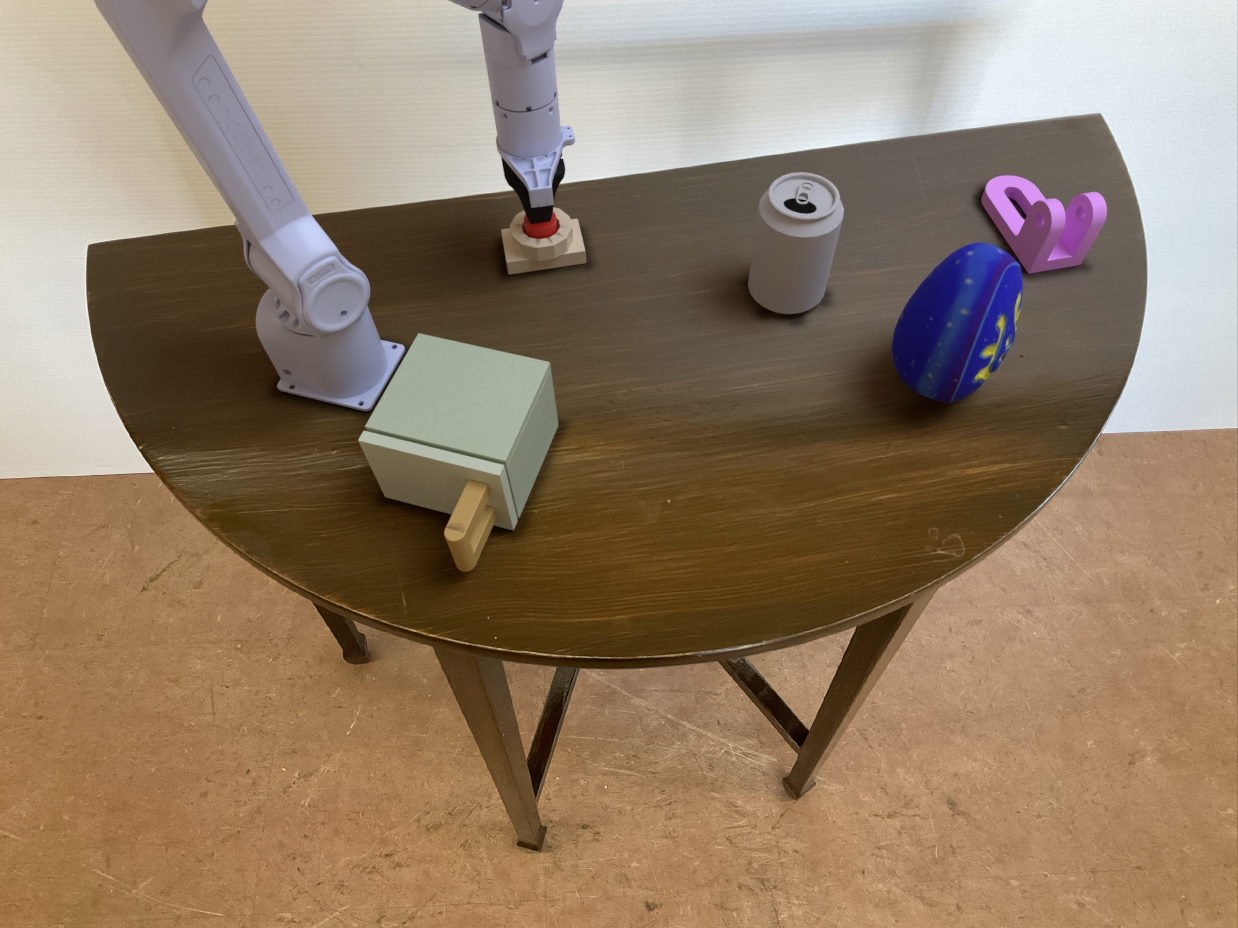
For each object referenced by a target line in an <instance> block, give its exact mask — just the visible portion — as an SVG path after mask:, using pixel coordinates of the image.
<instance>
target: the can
mask: <svg viewBox="0 0 1238 928" xmlns="http://www.w3.org/2000/svg"><path fill="white" fill-rule="evenodd" d="M844 208H845V207H844V205H843V202H842V200H841V194H840V192H839V188H838V187H836V185H835V184H834V183H833V182H832V181H830V180H828V179H827V178H826V177H824V176H822V175H819V174H816V173H812V172H805V171H804V172H803V171H800V172H799V171H798V172H791V173H787V174H784V175H781V176H779V177H777V178H776V179H775V180H773V181H772V182H771V184H770V186H769V187H768V189H767V190H766V191H765V192H764V194H763V195H762V196H761V197H760V200H759V204H758V209H757V216H756V225H755V232H754V238H753V246H752V253H751V258H750V259H751V260H750V265H749V266H750V267H749V274H748V281H747V287H748V291H749V294H750V295H751V297H752V298H753V300H754V301H755V302H757V304H759V305H760V306H762V307H763V308H765V309H767V310H769V311H771V312H774V313H776V314H781V315H792V314H801V313H804V312H807V311H810V310H812V309H813V308H815V307H816V306H817V305H819V304H820V303H821V302H822V299H823V298H824V296H825V293H826V288H827V286H828V285H827V284H828V282H829V277H830V273H831V270H832V264H833V260H834V256H835V253H836V249H837V245H838V242H839V241H838V240H839V238H840V237H839V236H840V232H841V228H842V225H843V220H844V215H845V209H844Z"/></svg>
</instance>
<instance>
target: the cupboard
mask: <svg viewBox="0 0 1238 928" xmlns="http://www.w3.org/2000/svg"><path fill="white" fill-rule="evenodd" d="M551 366H552V365H551V362H550V361H547V360H542V359H538V358H535V357H534V358H533V357H529V356H525V355H520V354H515V353H511V352H506V351H501V350H497V349H492V348H488V347H483V346H479V345H474V344H469V343H465V342H460V341H456V340H451V339H448V338H442V337H439V336H438V337H437V336H433V335H429V334H424V333H419V332H418V333H417V334H416V337H414V340H413V342H412V344H411V345H410V347H409V349H408V350H407V352H406V354H405V356H404V357H403V359H402V361H401V363H400V364H399V366H398V368H397V369H396V371H395V373H394V375H393V377H392V378H391V380H390V382H389V384H388V386H387V387H386V389H385V390H384V392H383V394H382V395H381V397H380V399H379V401H378V403H377V404H376V406H375V408H374V409H373V412H372V413H371V414H370V417H369V418H368V420H367V422H366V423H365V425H364V428H365V431H368V432H372V433H376V434H380V435H384V436H388V437H392V438H396V439H400V440H404V441H409V442H413V443H417V444H421V445H425V446H429V447H433V448H437V449H441V450H445V451H449V452H453V453H457V454H461V455H466V456H470V457H474V458H478V459H482V460H486V461H490V462H494V463H498V464H502V465H504V466H505V470H506V474H507V478H508V482H509V487H510V491H511V495H512V499H513V503H514V507H515V511H516V515H517V519H520V518H521V515H522V513H523V511H524V508H525V506H526V503H527V502H528V499H529V496H530V494H531V491H532V489H533V487H534V485H535V483H536V480H537V477H538V476H539V473H540V471H541V469H542V468H541V467H542V466H543V463H544V461H545V459H546V457H547V454H548V451H549V449H550V446H551V445H552V441H553V440H554V437H555V435H556V432H557V430H558V428H559V417H558V410H557V405H556V404H557V403H556V396H555V388H554V381H553V375H552V367H551Z"/></svg>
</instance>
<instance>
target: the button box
mask: <svg viewBox="0 0 1238 928" xmlns="http://www.w3.org/2000/svg"><path fill="white" fill-rule="evenodd" d="M553 212H554V213H555V215H556V221H557V230H558V231H557V233H556V234H554V235H553V236H551V237H549V238H544V239H535V238H530V237H528V236H527V235H526V231H525V225H524V216H525V215H526V214H525V211H524V210H522V211H520V212H518V213H516V214H515V216H514V217H513V219H512V221H511V222H510V224H509V228H502V229H500V232H501V233H500V234H501V239H502V245H503V252H504V256H505V263H506V269H507V274H508V276H509V275H515V274H516V275H517V274H523V273H529V272H536V271H543V270H549V269H556V268H563V267H564V268H565V267H570V266H576V265H584V264H587V254H586V253H587V252H586V247H585V244H584V238H583V235H582V230H581V227H580V223H579V222H580V221H579V219H578V218H572V219H571V216H570V215H569V214H567V213H566V212H565V211H563V210H562V209H561V208H559V207H553Z"/></svg>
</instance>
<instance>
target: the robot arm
mask: <svg viewBox="0 0 1238 928" xmlns="http://www.w3.org/2000/svg"><path fill="white" fill-rule="evenodd" d="M208 1H209V0H93V2H94V3H95V6H96V8H97V10H98V12H99V13H100V14H101V16H102V17H103V19H104V21H105V22H106V23H107V25H108V26H109V28H110V29H111V31H112V32H113V34H114V35H115V37H116V38H117V41H118V42H119V43H120V45H121V46H122V48H123V49H124V51H125V52H126V54H127V55H128V57H129V58H130V60H131V62H132V63H133V64H134V66H135V67H136V69H137V70H138V72H139V74H140V75H141V77H142V78H143V80H144V81H145V83H146V84H147V86H148V87H149V89H150V90H151V92H152V93H153V94H154V97H155V98H156V99H157V101H158V103H159V104H160V105H161V107H162V108H163V110H164V112H165V113H166V114H167V117H169V120H170V121H171V122H172V124H173V125H174V126H175V128H176V130H177V131H178V133H179V134H180V135H181V137H182V139H183V141H184V142H185V143H186V145H187V146H188V148H189V149H190V151H191V153H192V154H193V155H194V157H195V158H196V160H197V161H198V163H199V165H200V166H201V168H202V169H203V171H204V172H205V174H206V175H207V176H208V178H209V179H210V182H211V183H212V184H213V186H214V187H215V189H216V190H217V192H218V193H219V195H220V197H221V198H222V199H223V201H224V203H225V204H226V205H227V207H228V209H229V210H230V211H231V213H232V215H233V216H234V218H235V221H234V222H233V225H234V226H235V228H236V230H237V231H238V232H239V234H240V236H241V239H242V242H243V256H244V257H243V258H244V261H245V264H246V265H247V267H248V269H249V270H250V271H251V272H252V273H253V274H254V275H255V276H257V277H258V278H260V280H262V281H263V283H264V284H265V285H266V286H267V287H268V289H267V290H266V291H265V292H264V294H263V295H262V296H261V298H260V301H259V303H258V304H257V309H256V313H255V328H256V329H255V330H256V334H257V337H258V339H259V342H260V344H261V345H262V347H263V349H264V351H265V352H266V354H267V356H268V358H269V360H270V362H271V363H272V365H273V367H274V368H275V370H276V373H277V374H278V376H279V378H280V379H279V381H278V382H277V385H276V388H277V389H278V391H280V392H283V393H287V394H292V395H296V396H299V397H304V398H309V399H312V400H316V401H320V402H324V403H329V404H333V405H337V406H342V407H345V408H350V409H354V410H358V411H362V412H370V411H372V409H373V407H374V406H375V404H376V402H377V401H378V400H379V399H378V398H379V397H380V396H381V394H382V392H383V390H384V388H385V387H386V385H387V383H388V382H389V380H390V378H391V376H392V375H393V373H394V371H395V370H396V367H397V366H398V364H399V363H400V361H401V359H402V357H403V356H404V354H405V352H406V348H405V346H404V344H402V343H397V342H392V341H388V340H383V339H381V338H380V334H379V331H378V329H377V327H376V325H375V321H374V319H373V317H372V313H371V310H370V308H369V306H368V304H369V302H370V297H371V285H370V282H369V279H368V277H367V275H366V274H365V273H364V272H363V271H362V270H361V269H360V268H358V267H357V266H355V265H354V264H353V263H351V262H350V261H349V260H348V259H347V258H346V257H345V256H344V255H342V254H341V252H340V251H339V249H338V247H337V246H336V245H335V243H334V242H333V241H332V240H331V237H330V236H329V235H328V234H327V233H326V232H325V230H324V229H323V228H322V226H321V225H320V223H318V221H317V220H316V219H315V218H314V216H313V215H312V214H311V212H310V211H309V208H308V206H307V205H306V203H305V201H304V200H303V198H302V196H301V194H300V193H299V191H298V188H297V187H296V185H295V183H294V181H293V179H292V178H291V176H290V174H289V173H288V170H287V169H286V167H285V166H284V164H283V162H282V160H281V158H280V156H279V154H278V153H277V151H276V149H275V147H274V146H273V144H272V142H271V140H270V139H269V137H268V135H267V133H266V131H265V129H264V128H263V126H262V124H261V122H260V120H259V118H258V117H257V114H256V113H255V111H254V109H253V107H252V106H251V104H250V102H249V100H248V99H247V97H246V95H245V93H244V92H243V90H242V88H241V86H240V84H239V83H238V81H237V79H236V77H235V75H234V73H233V72H232V70H231V68H230V67H229V64H228V62H227V61H226V59H225V57H224V55H223V53H222V52H221V49H220V48H219V46H218V44H217V42H216V40H215V39H214V37H213V35H212V34H211V32H210V30H209V28H208V26H207V24H206V23H205V21H204V18H203V14H204V11H205V8H206V6H207V3H208ZM447 1H449V2H451V3H453V4H455V5H458V6H460V7H462V8H464V9H466V10H470V11H472V12H479V13H478V14H477V17H478V24H479V28H480V34H481V41H482V42H481V43H482V47H483V54H484V61H485V65H486V72H487V79H488V84H489V91H490V99H491V104H492V112H493V116H494V117H493V118H494V122H495V124H494V125H495V130H496V137H495V145H496V150H497V153H498V154H499V156H500V160H501V164H502V165H501V166H502V170H503V176H504V179H505V182H506V183H507V184H508V186H509V187H510V188H511V189H512V190H513V191H514V192H515V193H516V195H517V196H518V198H519V201H520V203H521V205H522V208H523V211H525V214H526V216H527V218H528V221H529V222H530V224H536V223H543V222H550V221H551V218H552V213H553V207H554V206H555V200H556V199H555V198H556V195H557V191H558V189H559V186H560V184H561V182H562V181H563V179H564V178H565V175H566V165H565V160H564V158H562V157H563V150H564V148H565V147H568V146H573V145H574V144H575V143H576V137H575V132H574V128H573V126H570V125H561V118H560V116H561V115H560V104H559V93H558V83H557V82H558V81H557V71H556V57H555V51H554V46H555V41H556V40H557V28H556V27H557V22H558V18H559V15H560V13H561V11H562V8H563V5H564V1H565V0H447Z"/></svg>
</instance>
